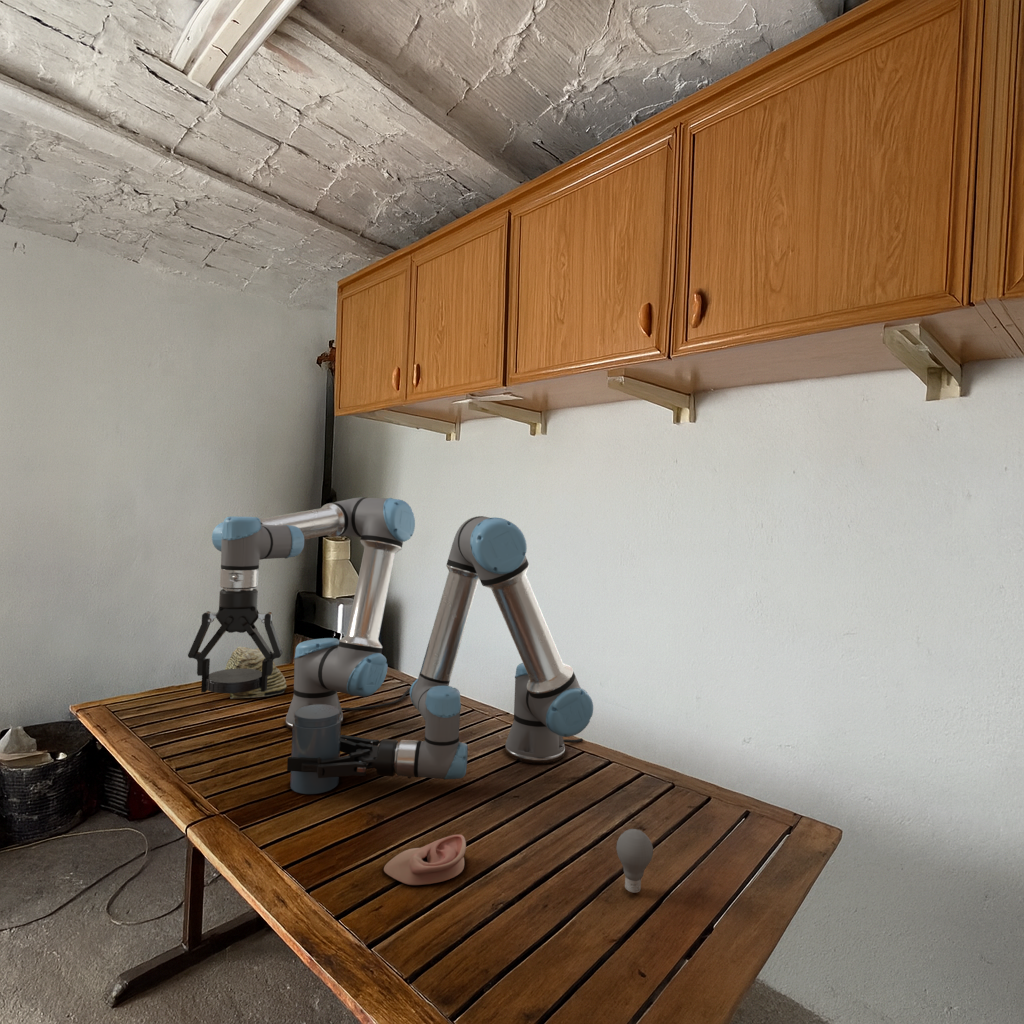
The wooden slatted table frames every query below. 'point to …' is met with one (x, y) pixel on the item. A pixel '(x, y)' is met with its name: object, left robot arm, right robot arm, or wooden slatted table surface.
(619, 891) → the wooden slatted table surface
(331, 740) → the jar
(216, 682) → the lid
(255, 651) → the fossil
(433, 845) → the anatomical model
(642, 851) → the light bulb
